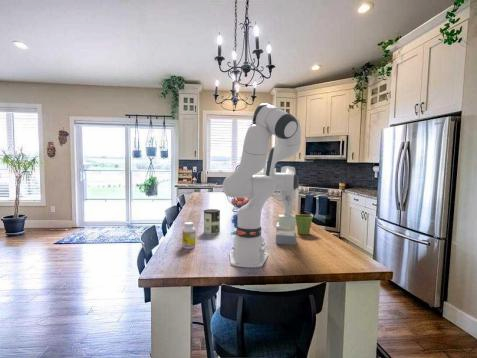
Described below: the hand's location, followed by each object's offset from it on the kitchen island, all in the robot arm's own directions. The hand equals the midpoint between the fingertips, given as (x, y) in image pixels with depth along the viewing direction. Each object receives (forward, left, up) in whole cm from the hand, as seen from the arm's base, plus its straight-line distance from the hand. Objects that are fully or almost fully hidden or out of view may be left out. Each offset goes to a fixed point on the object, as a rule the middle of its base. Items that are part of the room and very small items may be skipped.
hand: (286, 219), depth 152 cm
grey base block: (0, +1, -13) cm, 13 cm away
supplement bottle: (-18, +52, -13) cm, 57 cm away
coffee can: (+12, +46, -13) cm, 49 cm away
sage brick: (0, 0, -3) cm, 3 cm away
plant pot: (+19, -12, -13) cm, 26 cm away
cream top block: (0, +1, -8) cm, 8 cm away
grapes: (+18, +28, -13) cm, 36 cm away
